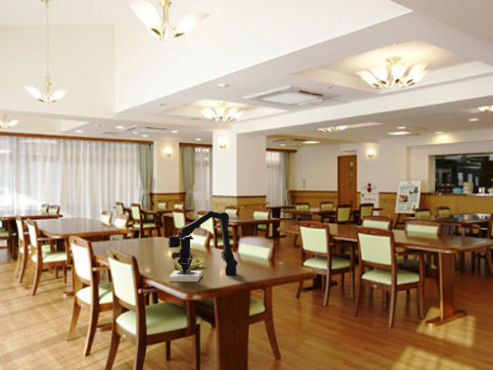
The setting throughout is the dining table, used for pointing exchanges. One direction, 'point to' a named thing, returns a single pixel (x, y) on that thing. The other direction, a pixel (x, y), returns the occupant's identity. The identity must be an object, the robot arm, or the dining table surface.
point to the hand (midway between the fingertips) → (185, 272)
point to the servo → (186, 272)
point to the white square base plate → (185, 276)
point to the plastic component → (194, 262)
